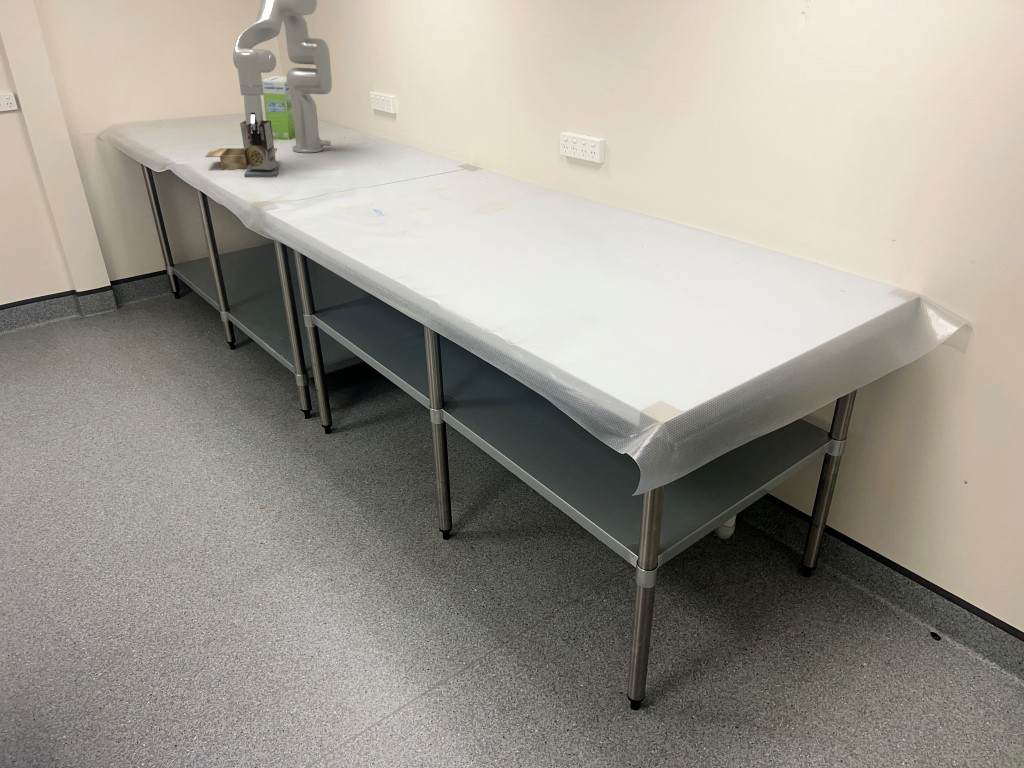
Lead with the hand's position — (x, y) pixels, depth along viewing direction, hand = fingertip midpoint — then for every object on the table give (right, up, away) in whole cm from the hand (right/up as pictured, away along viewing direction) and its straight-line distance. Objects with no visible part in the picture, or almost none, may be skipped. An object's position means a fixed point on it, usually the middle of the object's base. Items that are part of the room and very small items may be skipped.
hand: (258, 142), depth 267 cm
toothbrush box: (-11, +25, +68) cm, 74 cm away
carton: (-11, -4, +15) cm, 19 cm away
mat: (0, -10, +5) cm, 11 cm away
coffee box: (0, -8, +4) cm, 9 cm away
